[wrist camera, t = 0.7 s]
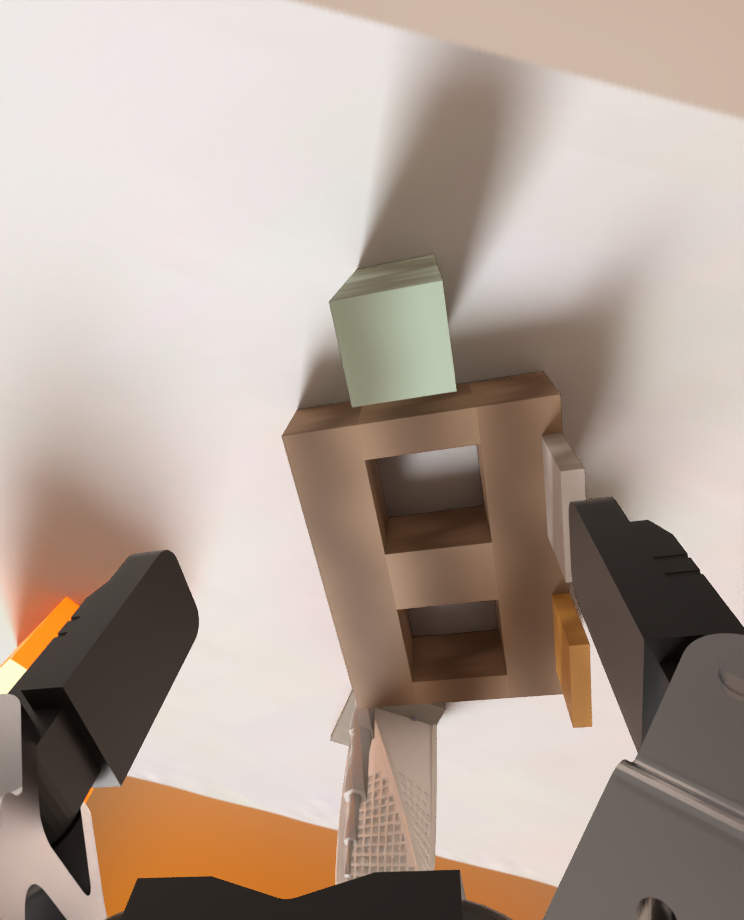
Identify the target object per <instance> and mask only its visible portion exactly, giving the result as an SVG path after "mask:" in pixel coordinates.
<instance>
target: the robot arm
mask: <svg viewBox="0 0 744 920" xmlns="http://www.w3.org/2000/svg"><path fill="white" fill-rule="evenodd" d="M569 535H570V557H571V574H572V581H573V587H574V591H575V595H576V599H577V602H578V604H579V607H580V609H581V612H582V614H583V617H584V619H585V622H586V624H587V627H588V629H589V632H590V634H591V637H592V639H593V642H594V644H595V647H596V649H597V652H598V654H599V657H600V659H601V662H602V664H603V667H604V669H605V672H606V674H607V677H608V679H609V682H610V684H611V687H612V689H613V692H614V694H615V697H616V699H617V702H618V704H619V707H620V709H621V712H622V714H623V717H624V719H625V722H626V724H627V727H628V729H629V732H630V735H631V737H632V740H633V742H634V745H635V747H636V750H637V752H638V755H637V757H636V758H635V760H634V761H633V762H630V761H627V760H622V761H621V762H620V763H619V764H618V766H617V767H616V768H615V770H614V772H613V773H612V775H611V777H610V779H609V781H608V783H607V785H606V787H605V790H604V792H603V794H602V796H601V798H600V800H599V802H598V804H597V806H596V809H595V811H594V813H593V815H592V817H591V819H590V821H589V823H588V825H587V827H586V830H585V832H584V834H583V836H582V838H581V840H580V842H579V844H578V846H577V849H576V851H575V853H574V855H573V857H572V859H571V861H570V863H569V865H568V867H567V870H566V872H565V874H564V876H563V878H562V880H561V882H560V884H559V886H558V888H557V891H556V893H555V895H554V897H553V899H552V901H551V903H550V905H549V908H548V910H547V912H546V914H545V916H544V918H543V920H744V627H743V626H742V624H741V623H740V622H739V620H738V619H737V618H736V617H735V615H734V614H733V613H732V611H731V610H730V609H729V607H728V606H727V605H726V603H725V602H724V601H723V600H722V598H721V597H720V596H719V594H718V593H717V592H716V590H715V589H714V588H713V586H712V585H711V584H710V583H709V581H708V580H707V579H706V577H705V576H704V575H703V574H701V573H700V569H699V568H698V567H697V566H696V564H695V563H694V562H693V560H692V559H691V558H688V555H687V552H686V551H685V550H684V549H683V547H682V546H681V545H680V543H679V542H678V541H677V539H676V538H675V537H674V535H673V534H671V533H669V532H668V531H666V530H664V529H663V528H661V527H659V526H658V525H656V524H654V523H653V522H651V521H649V520H642V521H634V522H630V521H629V520H628V518H627V517H626V515H625V514H624V512H623V511H622V509H621V508H620V506H619V505H618V503H617V502H616V500H615V499H614V498H613V497H605V498H597V499H589V500H581V501H572V502H570V504H569ZM198 627H199V616H198V610H197V607H196V604H195V602H194V599H193V597H192V594H191V592H190V590H189V587H188V585H187V582H186V580H185V577H184V575H183V572H182V570H181V568H180V565H179V563H178V560H177V558H176V556H175V555H174V554H173V553H172V552H171V551H169V550H162V551H154V552H146V553H138V554H132V555H131V556H129V557H128V558H127V559H126V561H125V562H124V563H123V564H122V565H121V567H120V568H119V569H118V570H117V572H116V573H115V574H114V575H113V577H112V578H111V579H110V580H109V581H108V582H107V583H106V584H104V585H103V586H102V587H100V588H99V589H98V590H97V591H95V592H94V593H93V594H91V595H90V596H89V597H87V598H86V599H85V601H84V602H83V603H82V604H81V605H80V607H79V608H78V609H77V610H76V611H75V613H74V614H73V615H72V616H71V621H67V622H66V624H65V625H64V626H63V627H62V628H61V630H60V631H59V632H58V637H54V638H53V639H52V640H51V642H50V643H49V644H48V645H47V646H46V648H45V649H44V650H43V651H42V652H41V654H40V655H39V656H38V657H37V658H36V660H35V661H34V662H33V663H32V664H31V666H30V667H29V668H28V669H27V671H26V672H25V673H24V674H23V675H22V677H21V678H20V679H19V680H18V681H17V683H16V684H15V685H14V686H13V687H12V689H11V690H10V691H9V692H8V693H7V694H0V920H512V919H511V918H509V917H507V916H506V915H504V914H502V913H499V912H497V911H495V910H493V909H491V908H488V907H486V906H484V905H481V904H478V903H475V902H471V901H468V900H466V898H465V893H464V888H463V883H462V878H461V874H460V870H437V871H398V872H374V873H371V874H368V875H365V876H362V877H359V878H355V879H352V880H349V881H346V882H343V883H340V884H337V885H334V886H331V887H328V888H325V889H322V890H318V891H316V892H312V893H309V894H306V895H303V896H300V897H297V898H293V899H280V898H276V897H273V896H270V895H267V894H264V893H261V892H258V891H255V890H252V889H248V888H245V887H242V886H239V885H236V884H233V883H230V882H227V881H224V880H221V879H218V878H215V877H212V876H211V877H210V876H209V877H172V878H138V879H137V881H136V884H135V886H134V889H133V891H132V893H131V896H130V898H129V901H128V903H127V906H126V908H125V911H123V912H120V913H118V914H115V915H113V916H111V917H109V918H107V915H106V910H105V906H104V900H103V893H102V886H101V879H100V873H99V866H98V859H97V853H96V846H95V839H94V832H93V826H92V819H91V814H90V810H89V809H88V807H87V806H86V804H85V802H84V800H85V798H86V796H87V795H88V793H89V791H90V789H91V788H100V787H118V786H121V785H122V783H123V781H124V779H125V777H126V775H127V773H128V771H129V769H130V768H131V766H132V764H133V762H134V760H135V758H136V756H137V754H138V752H139V750H140V748H141V746H142V744H143V742H144V740H145V738H146V736H147V734H148V732H149V730H150V728H151V726H152V724H153V722H154V720H155V718H156V716H157V714H158V712H159V710H160V708H161V706H162V704H163V702H164V700H165V698H166V696H167V694H168V692H169V690H170V688H171V686H172V684H173V682H174V680H175V678H176V676H177V674H178V672H179V670H180V668H181V667H182V665H183V663H184V661H185V659H186V657H187V655H188V653H189V651H190V649H191V647H192V645H193V643H194V641H195V639H196V636H197V633H198Z"/></svg>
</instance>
